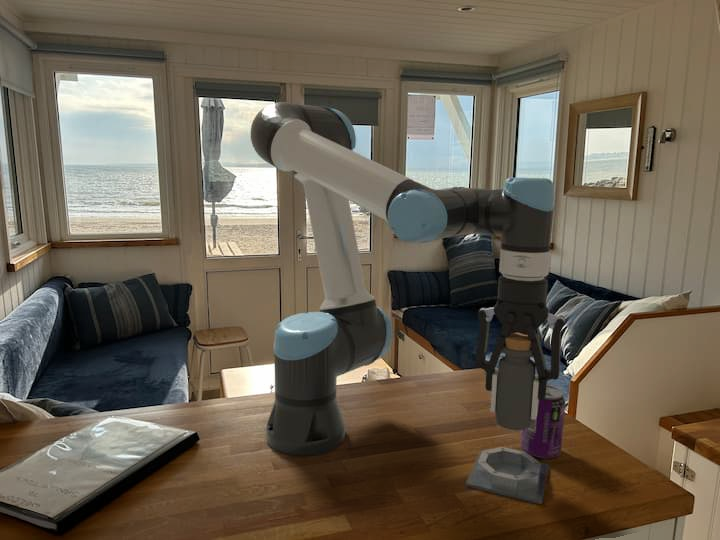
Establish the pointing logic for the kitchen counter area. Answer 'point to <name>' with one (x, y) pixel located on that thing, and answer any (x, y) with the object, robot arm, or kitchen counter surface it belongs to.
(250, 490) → the kitchen counter surface
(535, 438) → the beverage can
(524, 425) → the bottle
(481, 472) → the ring seat
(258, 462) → the kitchen counter surface
